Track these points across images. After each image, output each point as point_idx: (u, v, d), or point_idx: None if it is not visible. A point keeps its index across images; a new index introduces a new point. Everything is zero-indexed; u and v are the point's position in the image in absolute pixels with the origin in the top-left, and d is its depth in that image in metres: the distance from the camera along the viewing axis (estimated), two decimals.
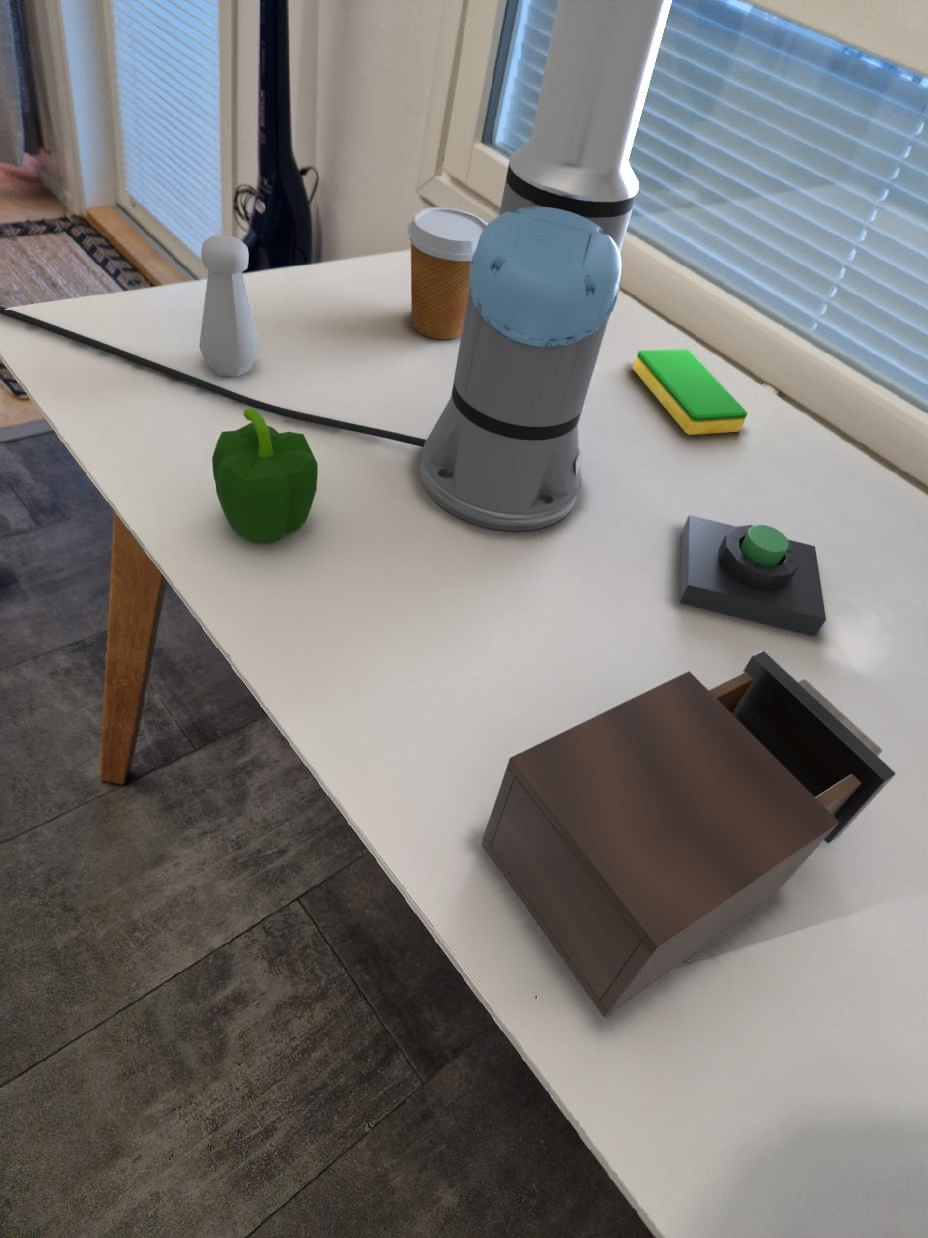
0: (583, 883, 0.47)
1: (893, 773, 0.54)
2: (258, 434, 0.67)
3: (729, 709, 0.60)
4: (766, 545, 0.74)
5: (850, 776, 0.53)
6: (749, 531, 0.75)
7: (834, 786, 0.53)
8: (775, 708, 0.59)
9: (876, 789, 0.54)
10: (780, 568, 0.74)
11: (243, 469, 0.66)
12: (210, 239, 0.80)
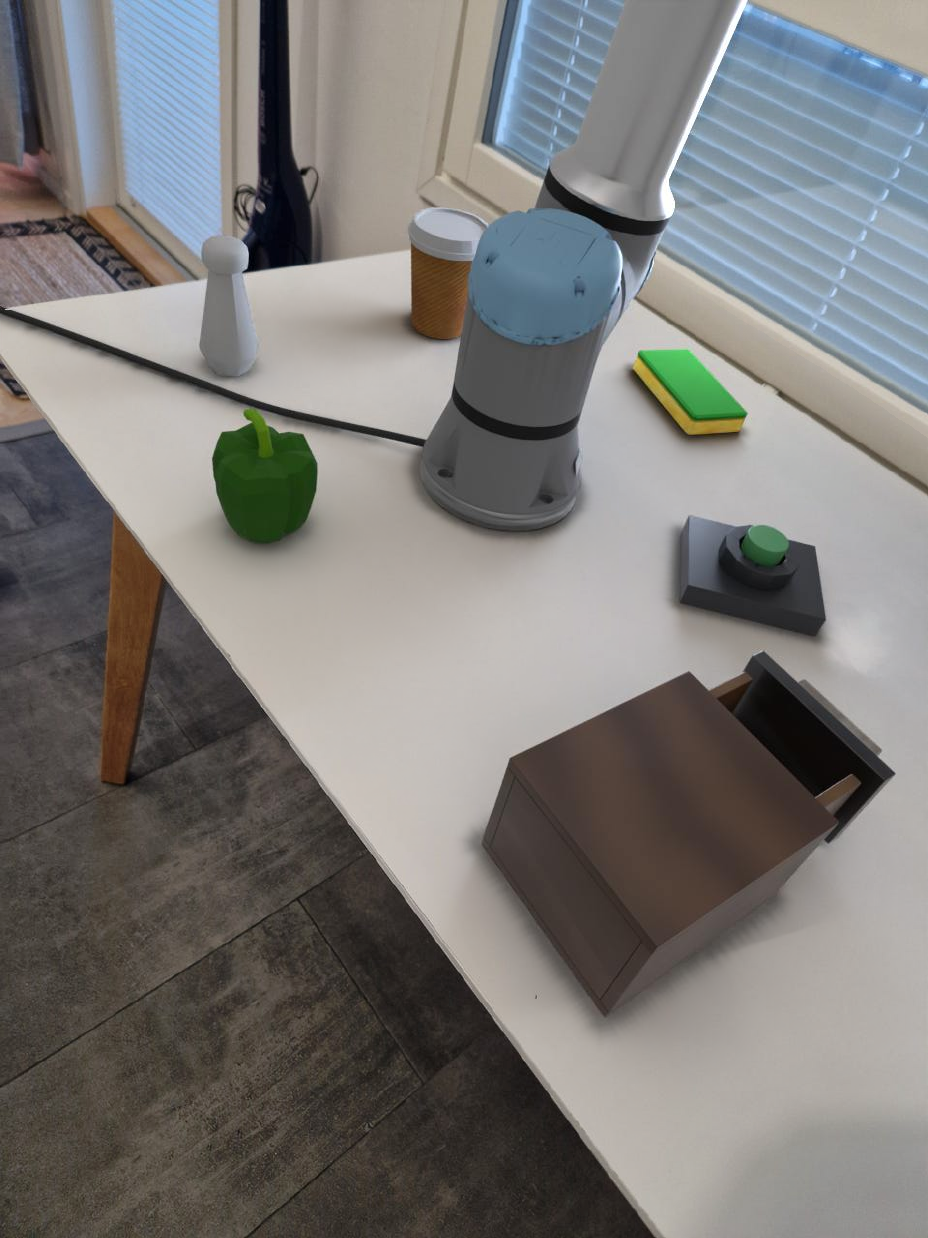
0: (583, 883, 0.47)
1: (893, 773, 0.54)
2: (258, 434, 0.67)
3: (729, 709, 0.60)
4: (766, 545, 0.74)
5: (850, 776, 0.53)
6: (749, 531, 0.75)
7: (834, 786, 0.53)
8: (775, 708, 0.59)
9: (876, 789, 0.54)
10: (780, 568, 0.74)
11: (243, 469, 0.66)
12: (210, 239, 0.80)
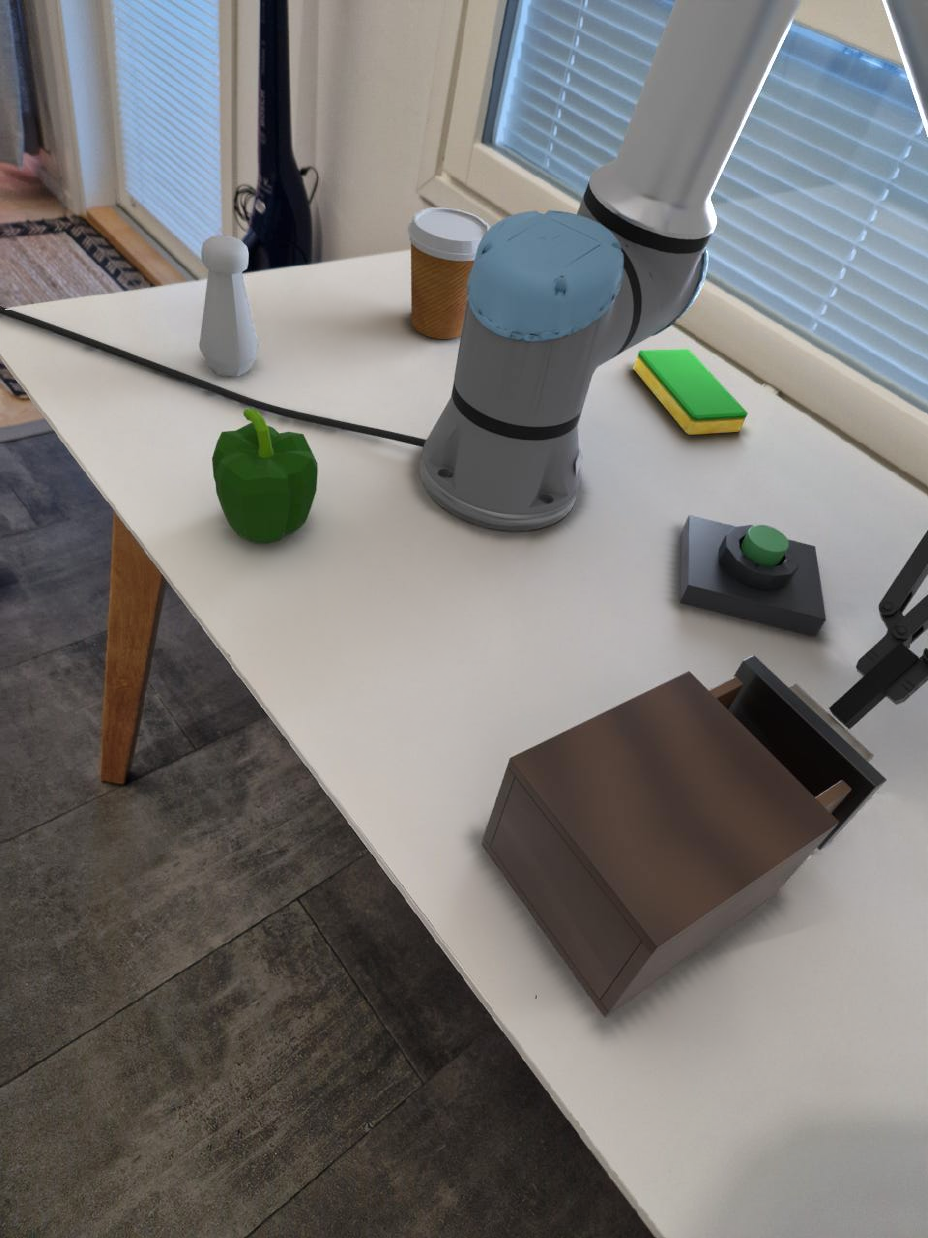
0: (583, 883, 0.47)
1: (884, 779, 0.53)
2: (258, 434, 0.67)
3: None
4: (766, 545, 0.74)
5: (840, 782, 0.53)
6: (749, 531, 0.75)
7: (824, 792, 0.52)
8: (766, 713, 0.58)
9: (867, 795, 0.54)
10: (780, 568, 0.74)
11: (243, 469, 0.66)
12: (210, 239, 0.80)
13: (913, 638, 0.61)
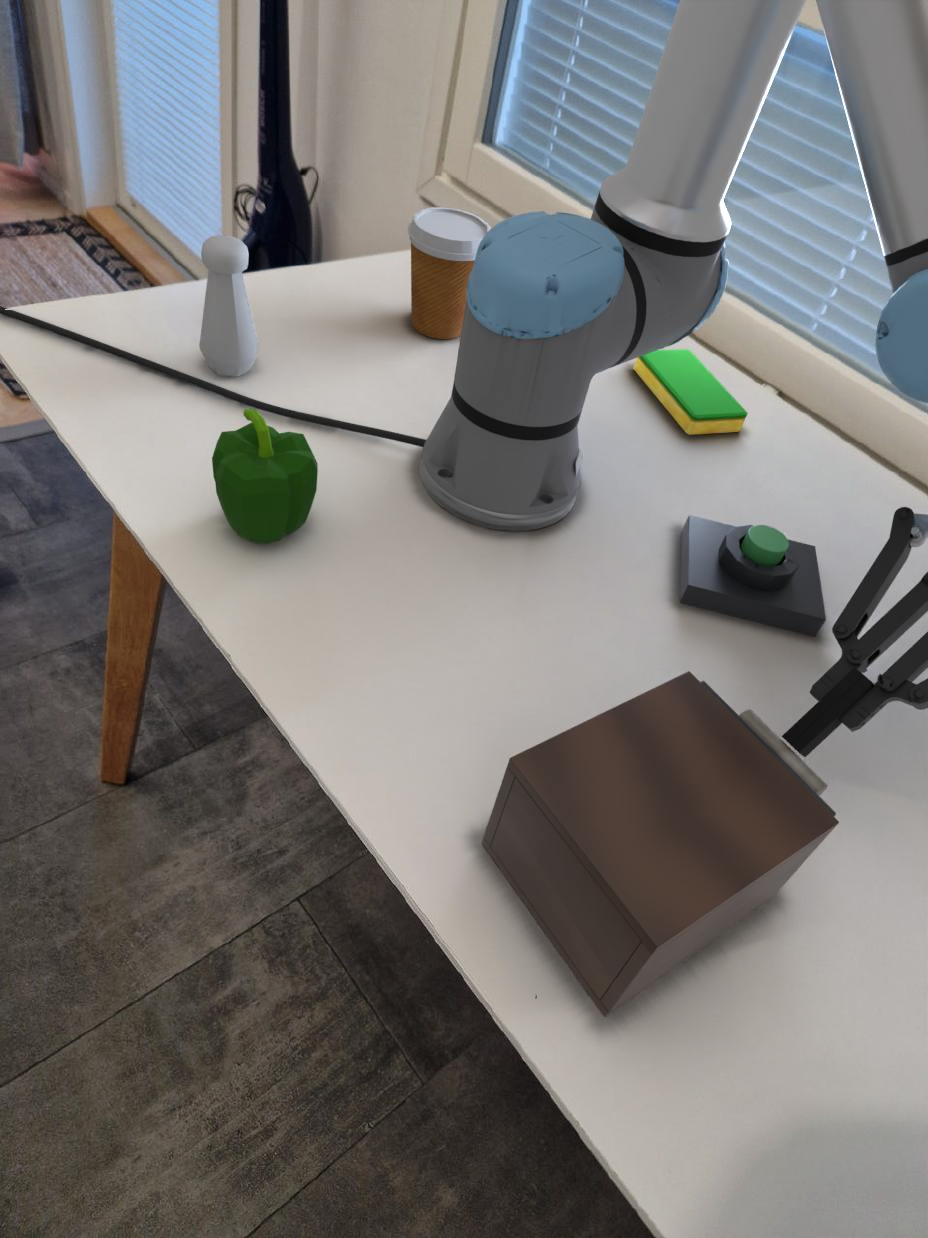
0: (583, 883, 0.47)
1: (834, 813, 0.51)
2: (258, 434, 0.67)
3: None
4: (766, 545, 0.74)
5: None
6: (749, 531, 0.75)
7: None
8: None
9: None
10: (780, 568, 0.74)
11: (243, 469, 0.66)
12: (210, 239, 0.80)
13: (869, 661, 0.58)
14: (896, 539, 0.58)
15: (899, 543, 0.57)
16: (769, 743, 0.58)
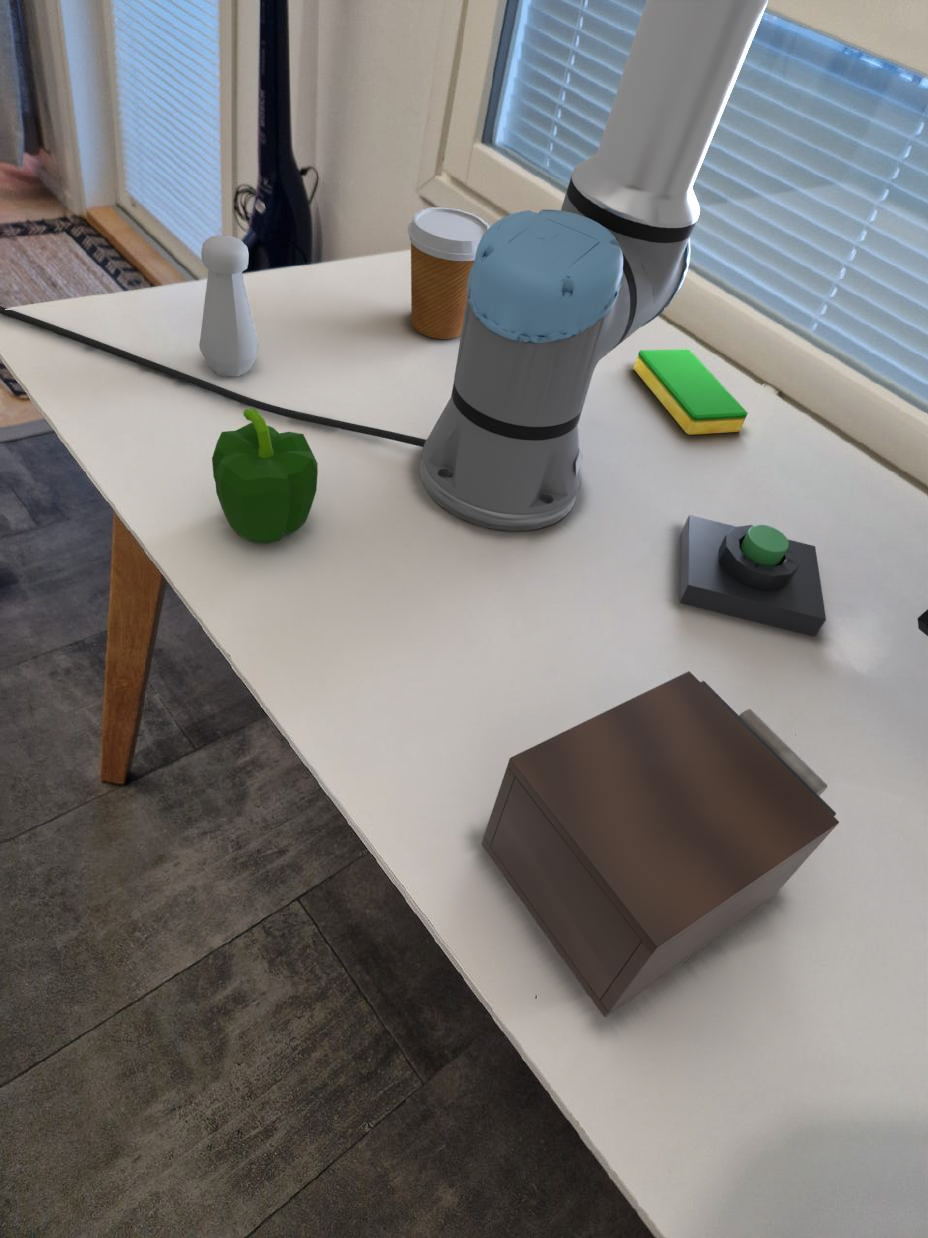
0: (583, 883, 0.47)
1: (834, 813, 0.51)
2: (258, 434, 0.67)
3: None
4: (766, 545, 0.74)
5: None
6: (749, 531, 0.75)
7: None
8: None
9: None
10: (780, 568, 0.74)
11: (243, 469, 0.66)
12: (210, 239, 0.80)
13: None
14: None
15: None
16: (769, 743, 0.58)
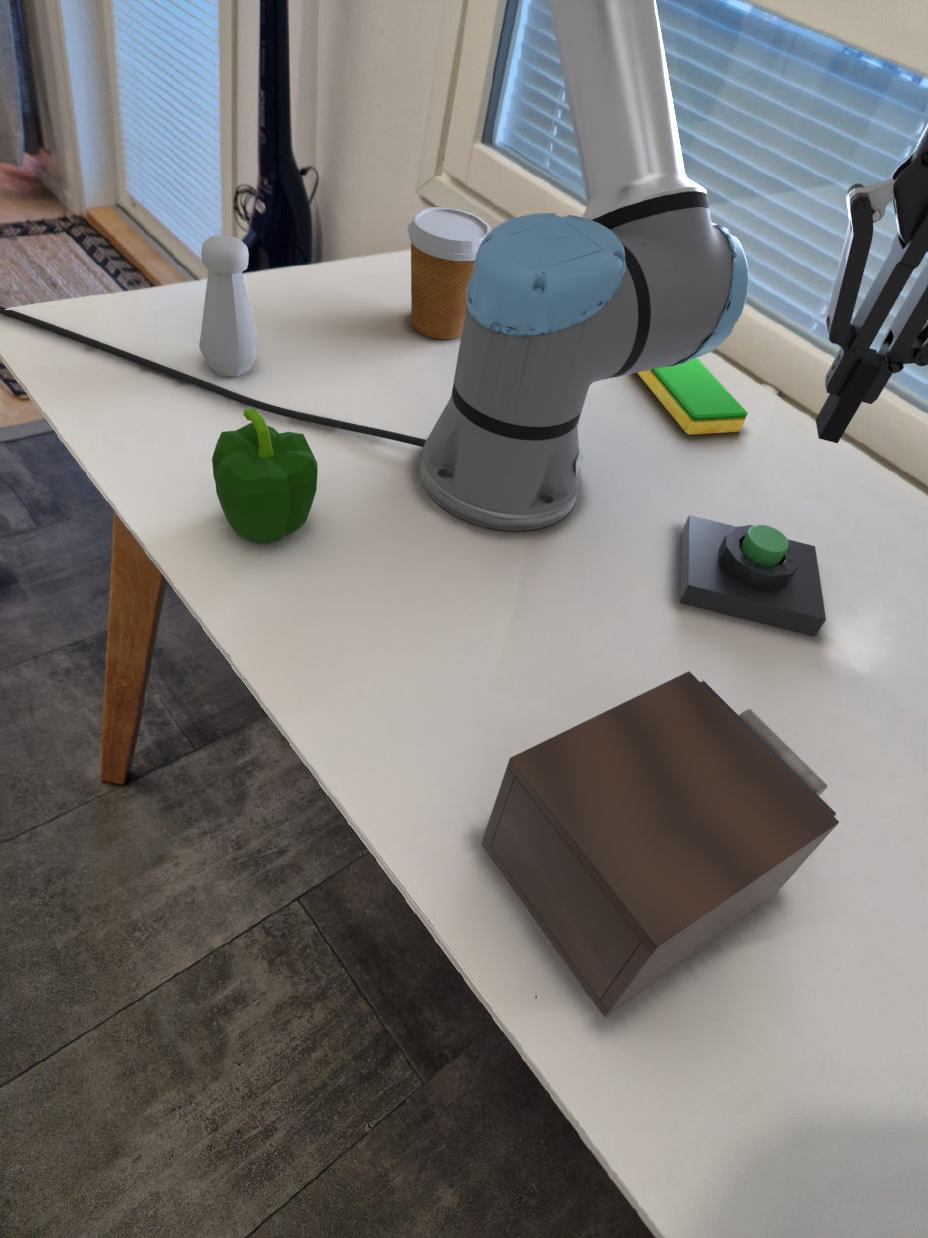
0: (583, 883, 0.47)
1: (834, 813, 0.51)
2: (258, 434, 0.67)
3: None
4: (766, 545, 0.74)
5: None
6: (749, 531, 0.75)
7: None
8: None
9: None
10: (780, 568, 0.74)
11: (243, 469, 0.66)
12: (210, 239, 0.80)
13: None
14: (861, 233, 0.56)
15: (865, 236, 0.56)
16: (769, 743, 0.58)
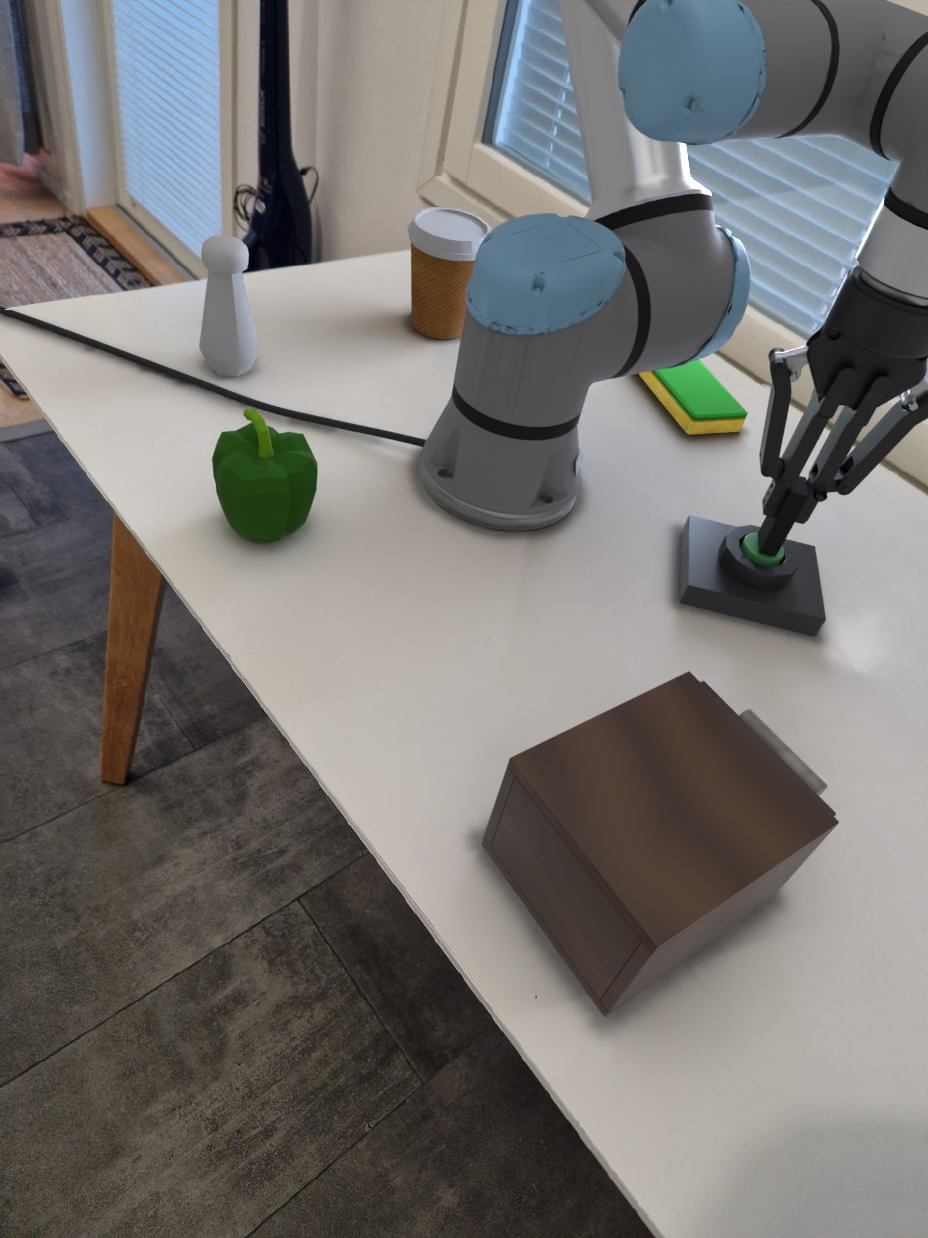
0: (583, 883, 0.47)
1: (834, 813, 0.51)
2: (258, 434, 0.67)
3: None
4: (762, 553, 0.74)
5: None
6: (745, 539, 0.75)
7: None
8: None
9: None
10: (780, 568, 0.74)
11: (243, 469, 0.66)
12: (210, 239, 0.80)
13: None
14: (781, 391, 0.64)
15: (785, 393, 0.64)
16: (769, 743, 0.58)
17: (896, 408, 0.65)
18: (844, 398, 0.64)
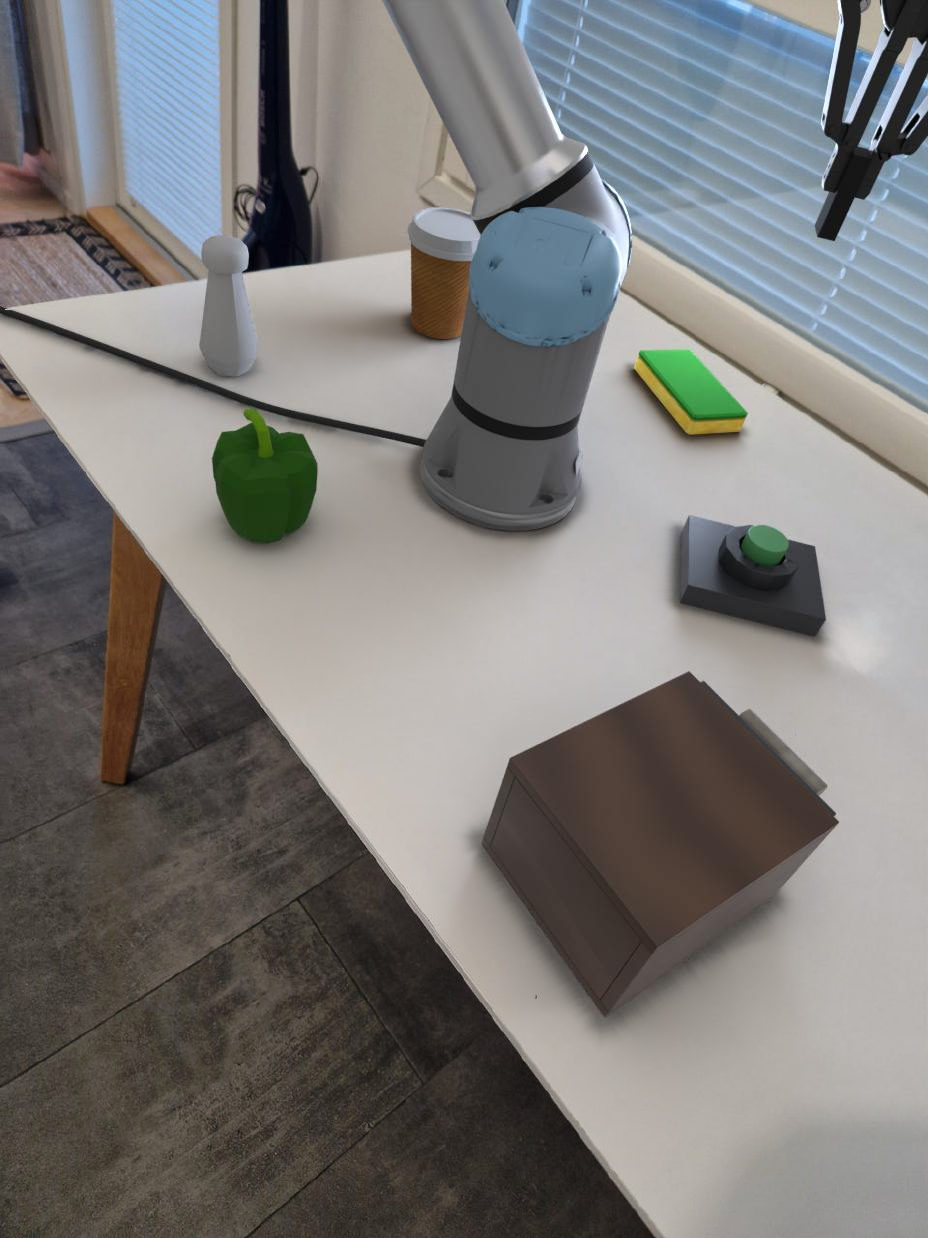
0: (583, 883, 0.47)
1: (834, 813, 0.51)
2: (258, 434, 0.67)
3: None
4: (766, 545, 0.74)
5: None
6: (749, 531, 0.75)
7: None
8: None
9: None
10: (780, 568, 0.74)
11: (243, 469, 0.66)
12: (210, 239, 0.80)
13: None
14: (850, 22, 0.63)
15: (854, 24, 0.63)
16: (769, 743, 0.58)
17: None
18: (915, 27, 0.62)
